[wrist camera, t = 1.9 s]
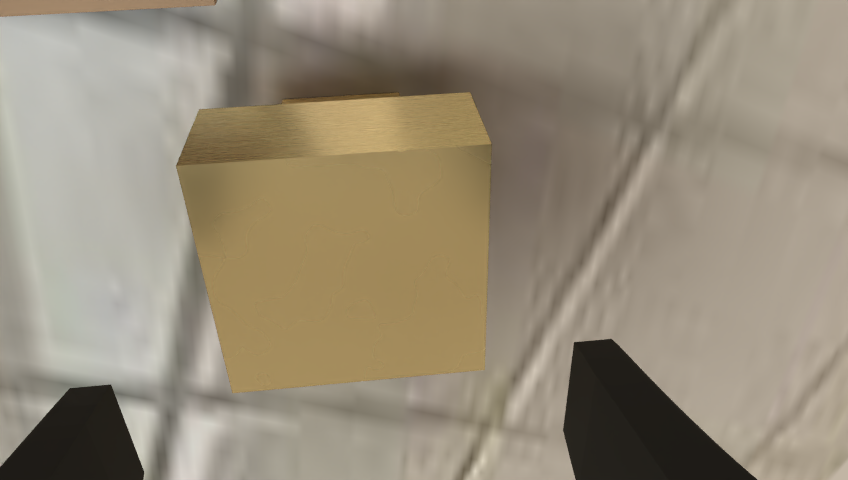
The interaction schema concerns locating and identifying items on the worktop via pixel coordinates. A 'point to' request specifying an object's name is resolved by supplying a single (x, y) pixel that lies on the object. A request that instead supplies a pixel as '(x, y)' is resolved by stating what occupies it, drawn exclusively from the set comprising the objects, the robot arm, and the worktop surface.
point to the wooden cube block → (342, 236)
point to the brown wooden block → (89, 5)
